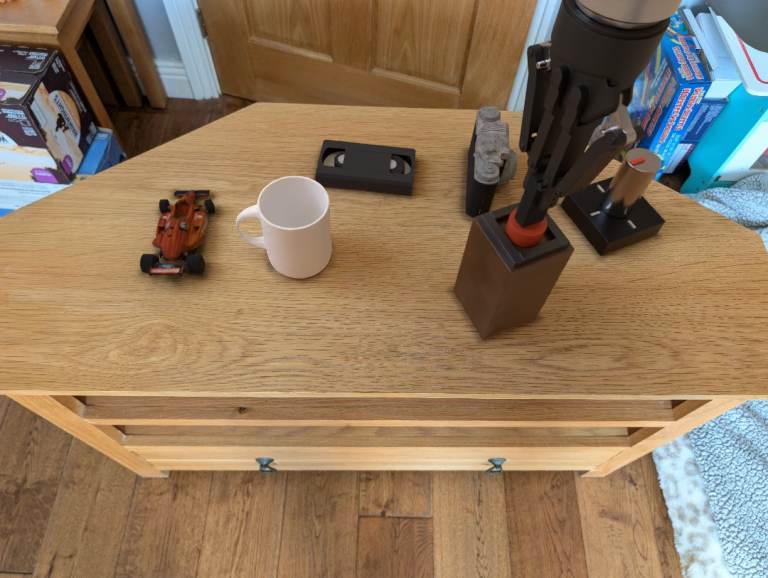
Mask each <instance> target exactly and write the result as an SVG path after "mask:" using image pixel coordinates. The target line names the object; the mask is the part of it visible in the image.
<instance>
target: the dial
mask: <svg viewBox="0 0 768 578" xmlns="http://www.w3.org/2000/svg"><path fill="white" fill-rule="evenodd" d="M661 165H662V161H661V159H660V158H659V156H658V155H657V154H656V153H655V152H653V151H651V150H649V149H647V148H643V147H635V148H632V149H629V150H628V152H627V153H626V154H625V157H624V158H623V160H622V162H621V164H620V165H619V167H618V169H617V171H616V173H615V174H614V175H613V176H614V178H613V180H612V181H611V183H610V185H609V187H608V189H607V190H606V192H605V194H604V196H603V198H602V199H601V207H602V209H603V210H604V212H606V213H607V214H608V215H610V216H612V217H615V218H624V217H627V216H629V215H630V214H631V212H632V210H633V209H634V207H635V206H636V204H637V203H638V201H639V200H640V198H641V196H644V195H643V194H645V192H646V190H647V188H648V187H649V185H650V184H651V182H652V181H653V179H654V178H655V176H656V175H657V173H658V171H659V170H660V168H661V167H662V166H661Z"/></svg>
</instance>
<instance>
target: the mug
mask: <svg viewBox="0 0 768 578" xmlns="http://www.w3.org/2000/svg"><path fill="white" fill-rule="evenodd" d="M251 219H254V220H259V222H260V226H261V231H262V235H261V236H251V235H248V234H246V233H245V232H243V231H242V229H241V224H242V223H243V222H244V221H246V220H251ZM331 221H332V220H331V204H330V196H329V194H328V192H327V190H326V188H325V187H323V186H322V185H321V184H319V183H318V182H316V181H315V179H312V178H310V177H306V176H302V175H287V176H282V177H280V178H277V179H274V180H272V181H271V182H269V183H268V184H266V186H264V187H263V189H262V190H261V191H260V193H259V195H258V197H257V202H256V204H254V205H250V206H248V207H247V208H245V209H243V210H242V211H241V212H240V213H239V214H238V215H237V217H236V220H235V226H236V227H235V228H236V230H237V232H238V234H239V236H240V237H241V239H243V240H244V241H245V242H247V244H249V245H251V246H253V247H255V248H258V249H261V250H265V251H266V254H267V258H268V260H269V263H270V264H271V266H272V267H273V269H274V270H276V272H278V273H279V274H281V275H282V276H284V277H287V278H292V279H307V278H310V277H313V276H315V275H317V274H319V273H321V272H322V271H323V270H324V269H325V268H326V267H327V265H328V264H329V263H330V260H331V257H332V253H333V242H332V241H333V240H332V225H331Z"/></svg>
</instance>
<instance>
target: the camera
mask: <svg viewBox="0 0 768 578" xmlns="http://www.w3.org/2000/svg"><path fill="white" fill-rule="evenodd" d="M501 114H502V113H501V111H500V110H499V109H498V107H496V106H494V105H485V106H482V107H480V108H478V109H477V112H476V118H475V122H474V127H473V130H472V135H471V139H470V143H469V148H468V150H467V162H466V163H467V165H466V184H465V185H466V187H465V203H464V204H465V205H464V206H465V207H464V209H465V210H464V214H465V215H466V216H467V217H468V218H471V219H473V218H474V217H477V216H480V215H482V214H485V213H488V212H491V211H490V210H491V208H492V205H493V201H494V199H495V198H494V197H495V195H496V192H497V188H499V186H500V185H505V184H506V183H509V182H510V181H513V180H514V179H515V176H516V173H517V168H518V161H519V155H518V152H516V151H515V150H514V149H512V148H511V146H510V124H509V123H507V122H502V118H501V116H502V115H501Z"/></svg>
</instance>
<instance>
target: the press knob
mask: <svg viewBox="0 0 768 578" xmlns="http://www.w3.org/2000/svg"><path fill="white" fill-rule="evenodd" d="M517 209H518V208H516V209H515V210H513V211H512V213H511V214H510V217H509V219H508V222H507V225H506V228H505V233H506V236H507V237H508V239H509V240H510V241H511V242H512V243H514V244H515V245H517V246H520V247H533V246H535V245H537V244H538V243H539V242H540V241H541V239H542V237H543V235H544V233H545V230H546V228H547V220H546V217H545V218H544V220H543V221H540V222H537V223H534V224H531V225H528V226H526V227H523V228H521V226H520V225H519V223H518V222H517V221H516V219H515V218H514V217H515V214H516V212H517Z"/></svg>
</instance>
